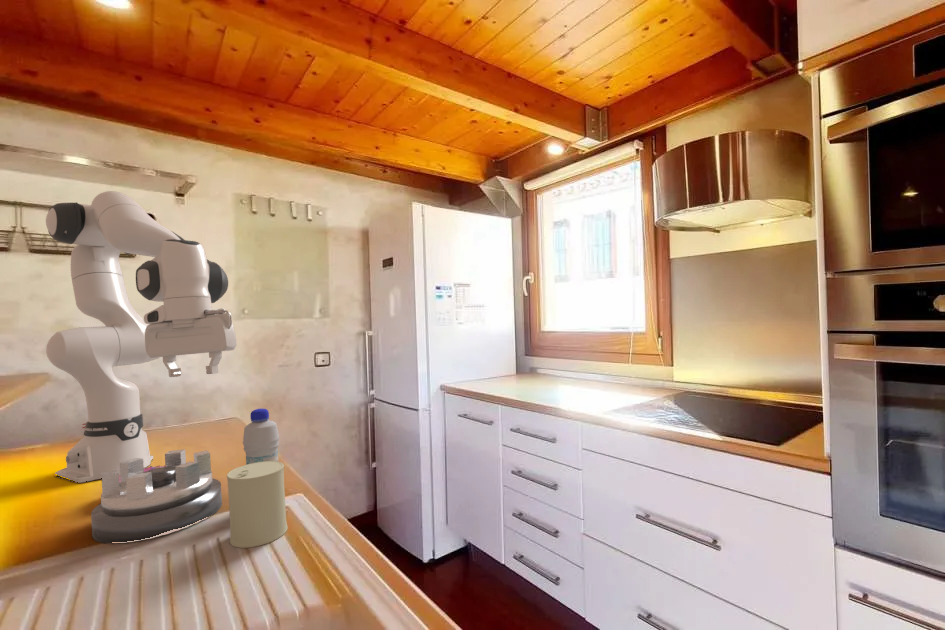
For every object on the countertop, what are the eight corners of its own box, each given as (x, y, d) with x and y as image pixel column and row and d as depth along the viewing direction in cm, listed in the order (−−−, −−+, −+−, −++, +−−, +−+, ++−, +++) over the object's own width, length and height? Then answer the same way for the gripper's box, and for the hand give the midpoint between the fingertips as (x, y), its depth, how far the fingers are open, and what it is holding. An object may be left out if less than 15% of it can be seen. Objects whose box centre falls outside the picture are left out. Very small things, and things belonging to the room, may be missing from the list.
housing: (63, 537, 82) (62, 515, 82) (171, 492, 102) (171, 474, 102) (147, 549, 76) (146, 525, 76) (245, 499, 96) (244, 479, 96)
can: (217, 544, 76) (213, 473, 76) (260, 519, 85) (257, 456, 85) (258, 551, 73) (254, 478, 73) (298, 525, 82) (295, 460, 82)
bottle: (268, 514, 87) (263, 412, 87) (238, 513, 88) (233, 412, 88) (289, 500, 94) (284, 405, 94) (261, 499, 95) (256, 405, 95)
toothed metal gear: (77, 511, 83) (75, 476, 83) (170, 475, 100) (168, 446, 100) (148, 519, 77) (146, 482, 77) (233, 480, 95) (232, 450, 95)
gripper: (240, 307, 99) (245, 370, 99) (162, 316, 103) (166, 376, 103) (219, 307, 93) (224, 373, 93) (136, 316, 97) (141, 380, 96)
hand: (193, 375), depth 98 cm, fingers open, 8 cm apart
